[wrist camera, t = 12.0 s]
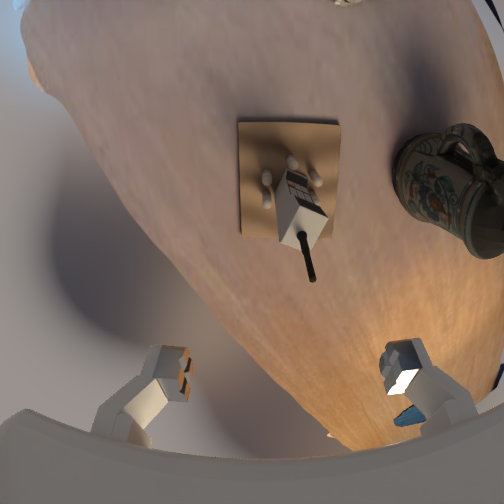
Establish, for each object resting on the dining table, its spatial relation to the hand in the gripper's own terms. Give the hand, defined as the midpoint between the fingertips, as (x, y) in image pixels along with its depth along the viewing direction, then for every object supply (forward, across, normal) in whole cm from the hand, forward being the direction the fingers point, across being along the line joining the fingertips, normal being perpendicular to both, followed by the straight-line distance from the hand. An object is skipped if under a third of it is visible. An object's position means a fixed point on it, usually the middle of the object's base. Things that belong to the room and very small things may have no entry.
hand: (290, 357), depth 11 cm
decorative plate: (+36, -71, +100) cm, 128 cm away
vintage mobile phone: (+37, -4, +6) cm, 38 cm away
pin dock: (+38, -4, +6) cm, 39 cm away
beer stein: (+38, -28, +2) cm, 48 cm away
